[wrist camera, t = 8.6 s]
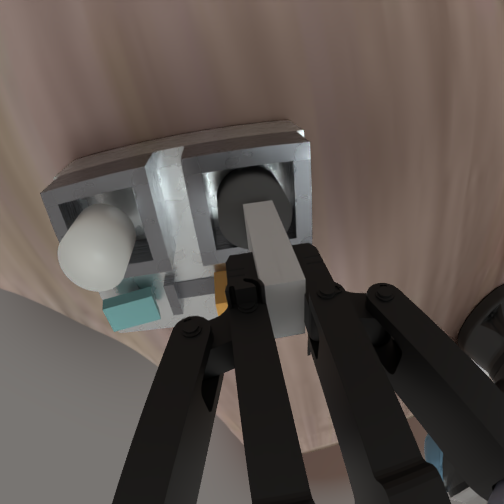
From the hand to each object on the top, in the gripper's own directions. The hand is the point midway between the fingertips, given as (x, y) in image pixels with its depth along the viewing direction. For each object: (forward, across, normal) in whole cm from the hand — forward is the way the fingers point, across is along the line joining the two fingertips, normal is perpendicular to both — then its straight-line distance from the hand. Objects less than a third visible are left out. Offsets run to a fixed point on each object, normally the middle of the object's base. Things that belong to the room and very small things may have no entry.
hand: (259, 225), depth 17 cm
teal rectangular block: (+3, +10, +7) cm, 13 cm away
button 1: (+2, +9, 0) cm, 9 cm away
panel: (+9, +5, +4) cm, 11 cm away
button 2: (+4, 0, 0) cm, 4 cm away
